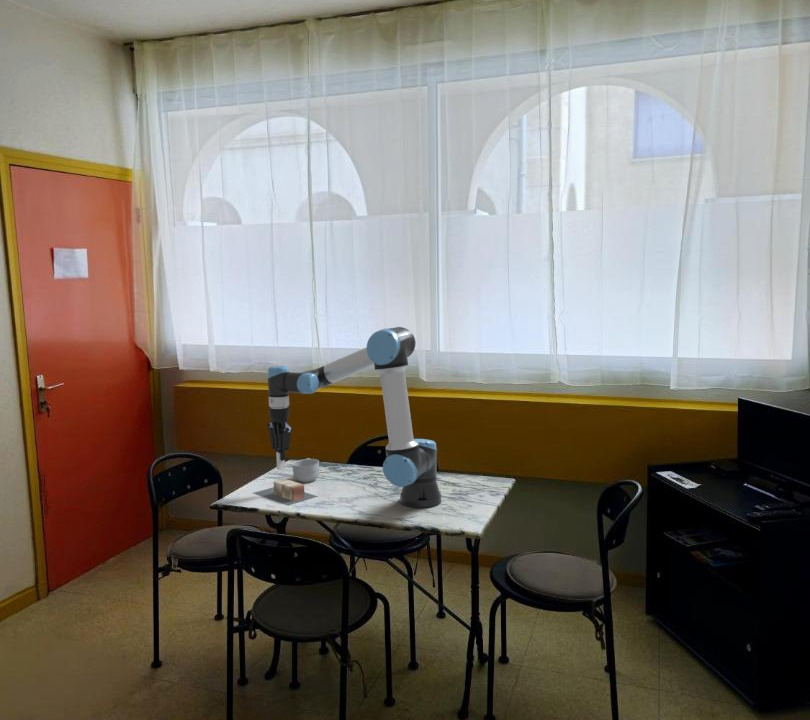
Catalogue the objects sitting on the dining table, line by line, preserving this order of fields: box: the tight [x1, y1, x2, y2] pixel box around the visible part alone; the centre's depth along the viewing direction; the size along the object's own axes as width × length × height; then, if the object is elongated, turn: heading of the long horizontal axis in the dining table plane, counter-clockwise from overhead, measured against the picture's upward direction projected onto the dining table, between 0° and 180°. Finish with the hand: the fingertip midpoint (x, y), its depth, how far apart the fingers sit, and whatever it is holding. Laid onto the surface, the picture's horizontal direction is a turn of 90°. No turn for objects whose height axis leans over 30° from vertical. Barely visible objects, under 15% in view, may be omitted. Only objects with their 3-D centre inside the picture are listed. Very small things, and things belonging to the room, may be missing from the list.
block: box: [273, 478, 305, 501], centre depth 256 cm, size 5×5×12 cm
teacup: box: [291, 457, 320, 484], centre depth 278 cm, size 14×11×8 cm
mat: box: [252, 486, 319, 506], centre depth 258 cm, size 22×14×1 cm, turn 47°
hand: (280, 468), depth 258 cm, fingers closed
